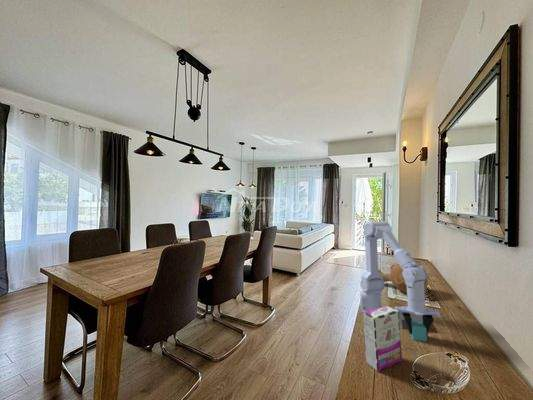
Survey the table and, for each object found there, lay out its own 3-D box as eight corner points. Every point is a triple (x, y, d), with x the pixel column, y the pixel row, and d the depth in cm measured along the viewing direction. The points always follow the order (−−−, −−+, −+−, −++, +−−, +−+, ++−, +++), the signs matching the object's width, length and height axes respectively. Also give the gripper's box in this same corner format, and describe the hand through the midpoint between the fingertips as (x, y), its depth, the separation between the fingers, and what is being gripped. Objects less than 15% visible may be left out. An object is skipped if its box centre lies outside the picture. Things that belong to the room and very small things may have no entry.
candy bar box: (388, 353, 80) (386, 304, 80) (402, 362, 75) (399, 310, 76) (364, 362, 75) (362, 311, 76) (377, 372, 70) (375, 317, 71)
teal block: (413, 339, 87) (412, 326, 87) (409, 333, 91) (409, 320, 92) (427, 341, 86) (426, 327, 86) (422, 335, 90) (422, 322, 90)
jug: (416, 280, 119) (363, 275, 143) (431, 306, 123) (377, 296, 147) (425, 253, 129) (374, 252, 154) (438, 277, 134) (387, 272, 158)
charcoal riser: (402, 328, 95) (401, 319, 96) (396, 317, 105) (396, 309, 105) (430, 331, 92) (429, 322, 93) (422, 319, 102) (421, 311, 102)
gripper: (397, 299, 88) (399, 336, 87) (442, 303, 83) (444, 342, 83) (393, 293, 94) (394, 327, 94) (434, 296, 90) (436, 332, 89)
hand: (417, 333), depth 89 cm, fingers closed on teal block, 4 cm apart
